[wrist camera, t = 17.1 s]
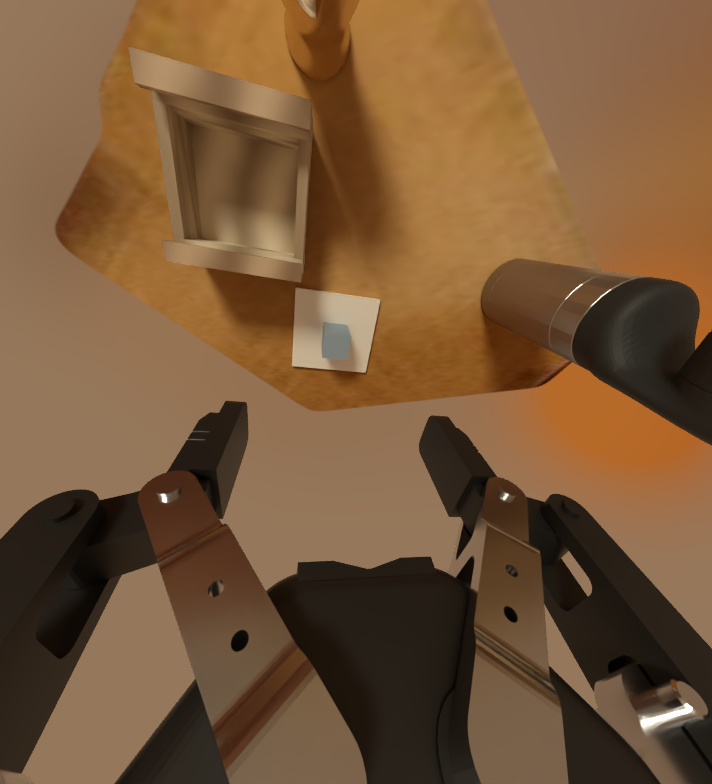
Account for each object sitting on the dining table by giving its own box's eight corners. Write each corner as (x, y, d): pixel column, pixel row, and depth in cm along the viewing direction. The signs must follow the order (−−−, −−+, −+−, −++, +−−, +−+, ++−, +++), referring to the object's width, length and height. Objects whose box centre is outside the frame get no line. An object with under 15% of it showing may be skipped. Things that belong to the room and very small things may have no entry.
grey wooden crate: (313, 132, 28) (311, 100, 21) (303, 271, 35) (300, 282, 28) (179, 96, 26) (128, 46, 19) (198, 254, 33) (165, 261, 26)
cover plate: (378, 298, 39) (388, 309, 34) (364, 369, 45) (370, 387, 40) (296, 286, 37) (292, 295, 32) (292, 362, 43) (289, 381, 37)
